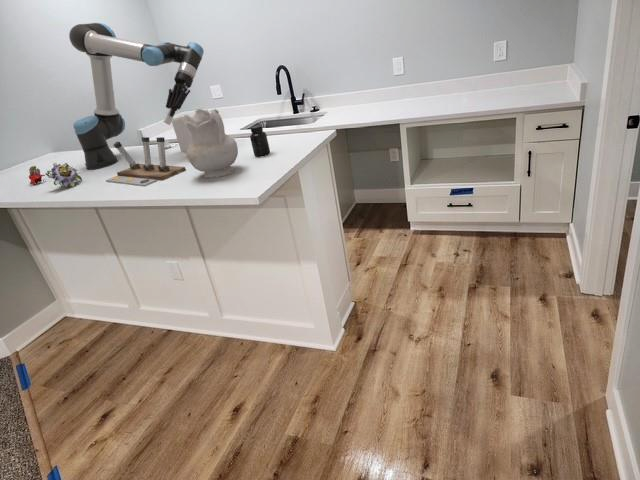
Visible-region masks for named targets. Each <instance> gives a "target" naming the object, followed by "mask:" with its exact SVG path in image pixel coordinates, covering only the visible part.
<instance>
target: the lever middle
mask: <svg viewBox="0 0 640 480" xmlns="http://www.w3.org/2000/svg"><path fill="white" fill-rule="evenodd" d="M141 142H142V148H143V155H144V164H145V168H146V169H149V167H148V166H149V165H152V159H151V158H152V157H151V150H150V148H151V147H150V137H147V136H144V137H143V136H142V137H141Z"/></svg>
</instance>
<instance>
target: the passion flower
mask: <svg viewBox="0 0 640 480" xmlns="http://www.w3.org/2000/svg"><path fill="white" fill-rule="evenodd" d="M80 174H81V170H80V169H79V170H78V169H76V166H71V165H69V163H68V162H65V163H63V164H61V163H59V164H58V163H57V162H53V167H52V168H51V170H50V169H49V170H46V172H45V176H47V178H49V179H50V178H51V179H53V180H54V181H53V185H55V186H56V185H60V186H61V187H64V188H68V187H70V188H74V187H75V182H74V181H76V182H80V181H81V182H82V177H81V176H80Z"/></svg>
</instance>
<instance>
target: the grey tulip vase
mask: <svg viewBox="0 0 640 480" xmlns="http://www.w3.org/2000/svg"><path fill="white" fill-rule="evenodd" d="M183 116H184V118H183V119H184V123H185V125H186V127H187V128H188V129H189V130H190V132H191V134H192V138H193V139H192V143H191V144H190V145H189V147H188V149H187V151H186V152H185V153H186V156H187V159H188V162H189V163H190V165H191V166H192V167H193V168H194V169H195V170H197V171H199V172H203V173H204V178H205V179H211V178H212V179H214V178H219V177H220V178H221V177H223V176H227V175H229V174H231V173H230V172H232V173H233V172H234V170H233V169H234V167H232V165H233V164H234V163H235V162H236V160H237V157H238V154H239V149H238V145H237V141H236V140H235V138H233V137H232V136H229V135H228V134H226V132H225V124H224V121H223V118H222V117H221V115H220V112H219V110H217V109H211V110H210V111H209V110H208V109H202V108H201V109H200V108H198V109H196V110H195V111H194V114H193V116H190V115H189V114H188V115H187V114H184V115H183Z"/></svg>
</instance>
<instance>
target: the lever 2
mask: <svg viewBox="0 0 640 480" xmlns="http://www.w3.org/2000/svg"><path fill="white" fill-rule="evenodd" d="M165 140H166V139H165V137H159V136H158V137H156V143H157V150H158V160H159V161H158V162H159V165H160V170H164V168H163V167H164V166H167V159H166V149H165V147H164V146H165V145H164V142H165Z"/></svg>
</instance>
